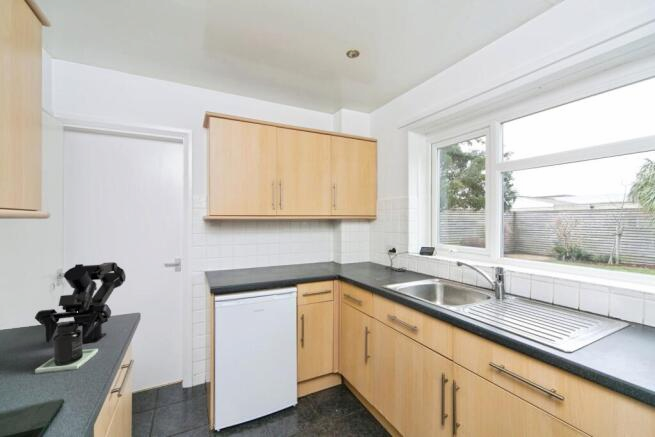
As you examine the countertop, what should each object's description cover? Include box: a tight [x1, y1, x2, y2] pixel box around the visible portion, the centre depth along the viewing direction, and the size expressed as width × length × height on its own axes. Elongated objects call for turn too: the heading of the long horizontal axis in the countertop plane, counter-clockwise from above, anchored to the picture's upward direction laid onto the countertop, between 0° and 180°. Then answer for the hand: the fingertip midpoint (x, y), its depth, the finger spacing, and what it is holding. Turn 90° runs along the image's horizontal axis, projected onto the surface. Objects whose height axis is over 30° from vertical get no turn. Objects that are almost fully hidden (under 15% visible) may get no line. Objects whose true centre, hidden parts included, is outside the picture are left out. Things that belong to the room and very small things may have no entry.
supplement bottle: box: [53, 321, 84, 366], centre depth 88 cm, size 7×7×12 cm
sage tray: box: [34, 348, 99, 375], centre depth 88 cm, size 11×11×1 cm
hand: (66, 339), depth 87 cm, fingers open, 9 cm apart
